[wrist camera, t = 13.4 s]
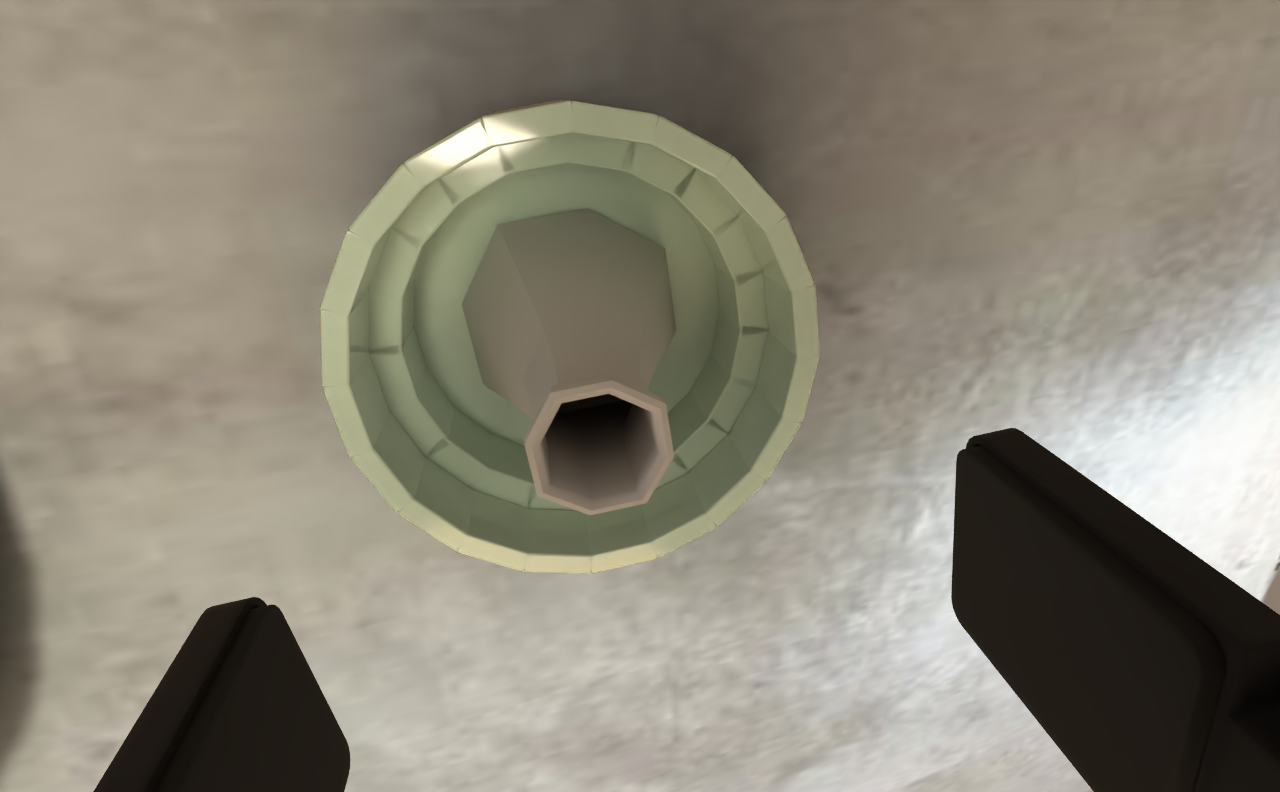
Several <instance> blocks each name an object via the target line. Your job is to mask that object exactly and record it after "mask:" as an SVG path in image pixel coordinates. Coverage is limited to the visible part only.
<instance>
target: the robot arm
mask: <svg viewBox="0 0 1280 792" xmlns="http://www.w3.org/2000/svg"><path fill="white" fill-rule="evenodd" d="M952 605H953V609H954V611H955V614H956V616H957V618H958V620H959V622H960V623H961V625H962V626H963V628H964V629H965V630H966V631H967V633H968V634H969V635H970V636H971V638H972V639H973V640H974V641H975V643H976V644H977V645H978V647H979V648H980V649H981V650H982V652H983V653H984V654H985V655H986V657H987V658H988V659H989V660H990V662H991V663H992V664H993V665H994V667H995V668H996V669H997V670H998V672H999V673H1000V674H1001V675H1002V677H1003V678H1004V679H1005V680H1006V682H1007V683H1008V684H1009V686H1010V687H1011V688H1012V689H1013V691H1014V692H1015V693H1016V694H1017V696H1018V697H1019V698H1020V699H1021V701H1022V702H1023V703H1024V704H1025V706H1026V707H1027V708H1028V709H1029V711H1030V712H1031V713H1032V714H1033V716H1034V717H1035V718H1036V719H1037V721H1038V722H1039V723H1040V725H1041V726H1042V727H1043V728H1044V730H1045V731H1046V732H1047V733H1048V735H1049V736H1050V737H1051V738H1052V740H1053V741H1054V742H1055V743H1056V745H1057V746H1058V747H1059V748H1060V750H1061V751H1062V752H1063V753H1064V755H1065V756H1066V757H1067V758H1068V760H1069V761H1070V762H1071V763H1072V765H1073V766H1074V767H1075V769H1076V770H1077V771H1078V772H1079V774H1080V775H1081V776H1082V777H1083V779H1084V780H1085V781H1086V782H1087V784H1088V785H1089V786H1090V787H1091V789H1092V790H1093V791H1094V792H1280V615H1279V614H1277V613H1276V612H1275V611H1273V610H1272V609H1270V608H1269V607H1268V606H1266V605H1265V604H1263V603H1262V602H1260V601H1259V600H1258V599H1256V598H1255V597H1253V596H1252V595H1251V594H1249V593H1248V592H1246V591H1245V590H1244V589H1242V588H1241V587H1239V586H1238V585H1237V584H1235V583H1234V582H1232V581H1231V580H1230V579H1228V578H1227V577H1225V576H1224V575H1223V574H1221V573H1220V572H1218V571H1217V570H1216V569H1214V568H1213V567H1211V566H1210V565H1209V564H1207V563H1206V562H1204V561H1203V560H1202V559H1200V558H1199V557H1197V556H1196V555H1194V554H1193V553H1192V552H1190V551H1189V550H1187V549H1186V548H1185V547H1183V546H1182V545H1180V544H1179V543H1178V542H1176V541H1175V540H1173V539H1172V538H1171V537H1169V536H1168V535H1166V534H1165V533H1164V532H1162V531H1161V530H1159V529H1158V528H1157V527H1155V526H1154V525H1152V524H1151V523H1150V522H1148V521H1147V520H1145V519H1144V518H1143V517H1141V516H1140V515H1138V514H1137V513H1136V512H1134V511H1133V510H1131V509H1130V508H1128V507H1127V506H1126V505H1124V504H1123V503H1121V502H1120V501H1119V500H1117V499H1116V498H1114V497H1113V496H1112V495H1110V494H1109V493H1107V492H1106V491H1105V490H1103V489H1102V488H1100V487H1099V486H1098V485H1096V484H1095V483H1093V482H1092V481H1091V480H1089V479H1088V478H1086V477H1085V476H1084V475H1082V474H1081V473H1079V472H1078V471H1077V470H1075V469H1074V468H1072V467H1071V466H1070V465H1068V464H1067V463H1065V462H1064V461H1062V460H1061V459H1060V458H1058V457H1057V456H1055V455H1054V454H1053V453H1051V452H1050V451H1048V450H1047V449H1046V448H1044V447H1043V446H1041V445H1040V444H1039V443H1037V442H1036V441H1034V440H1033V439H1032V438H1030V437H1029V436H1027V435H1026V434H1025V433H1023V432H1022V431H1020V430H1018V429H1016V428H1009V429H1004V430H1000V431H995V432H991V433H986V434H982V435H977V436H973V437H972V438H970V439H969V441H968V443H967V446H966V449H963V450H961V451H959V453H958V455H957V461H956V489H955V516H954V543H953V570H952ZM349 769H350V751H349V746H348V743H347V741H346V739H345V737H344V735H343V733H342V731H341V729H340V727H339V725H338V723H337V721H336V719H335V717H334V715H333V713H332V711H331V709H330V707H329V705H328V703H327V701H326V699H325V697H324V695H323V693H322V691H321V689H320V687H319V685H318V683H317V681H316V679H315V677H314V675H313V673H312V671H311V669H310V667H309V665H308V663H307V661H306V659H305V657H304V655H303V653H302V651H301V649H300V647H299V645H298V643H297V641H296V639H295V637H294V635H293V633H292V631H291V629H290V627H289V625H288V623H287V621H286V619H285V617H284V615H283V613H282V612H281V610H280V609H279V608H278V607H277V606H276V605H268V606H267V605H266V604H265V602H264V601H263V600H261V599H260V598H256V597H252V598H248V599H243V600H239V601H234V602H230V603H225V604H221V605H216V606H212V607H210V608H208V609H206V610H205V611H204V613H203V614H202V615H201V617H200V618H199V620H198V621H197V623H196V625H195V626H194V628H193V630H192V631H191V633H190V635H189V636H188V638H187V639H186V641H185V643H184V644H183V646H182V648H181V649H180V651H179V653H178V654H177V656H176V657H175V659H174V661H173V662H172V664H171V666H170V667H169V669H168V671H167V672H166V674H165V675H164V677H163V679H162V680H161V682H160V684H159V685H158V687H157V689H156V690H155V692H154V693H153V695H152V697H151V698H150V700H149V702H148V703H147V705H146V707H145V708H144V710H143V711H142V713H141V715H140V716H139V718H138V720H137V721H136V723H135V725H134V726H133V728H132V730H131V731H130V733H129V734H128V736H127V738H126V739H125V741H124V743H123V744H122V746H121V748H120V749H119V751H118V752H117V754H116V756H115V757H114V759H113V761H112V762H111V764H110V766H109V767H108V769H107V770H106V772H105V774H104V775H103V777H102V779H101V780H100V782H99V784H98V785H97V787H96V788H95V790H94V792H344V790H345V786H346V782H347V778H348V775H349Z"/></svg>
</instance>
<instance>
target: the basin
mask: <svg viewBox="0 0 1280 792" xmlns="http://www.w3.org/2000/svg"><path fill="white" fill-rule="evenodd" d="M586 208H588V209H589V210H591V211H593V212H595V213H597V214H599V215H601V216H603V217H605V218H607V219H609V220H611V221H613V222H615V223H617V224H619V225H620V226H622V227H624V228H626V229H628V230H630V231H632V232H634V233H636V234H638V235H640V236H642V237H644V238H646V239H648V240H650V241H652V242H653V243H655V244H657V245H659V246H661V247H663V248H665V253H666V260H667V267H668V274H669V281H670V289H671V296H672V303H673V310H674V317H675V325H676V332H675V334H674V336H673V338H672V340H671V342H670V343H669V345H668V347H667V349H666V351H665V352H664V354H663V356H662V358H661V360H660V361H659V364H658V366H657V368H656V370H655V373H654V375H653V377H652V379H651V382H650V384H649V386H648V388H647V391H649V392H652V393H654V394H656V395H658V396H661V397H662V398H664V399H665V402H666V406H667V413H668V420H669V426H670V433H671V439H672V446H673V452H674V457H673V459H672V461H671V463H670V464H669V466H668V468H667V469H666V471H665V473H664V475H663V476H662V478H661V480H660V481H659V483H658V485H657V486H656V488H655V490H654V492H653V493H652V495H651V497H650V498H649V500H648V502H647V503H645V504H641V505H636V506H631V507H627V508H622V509H617V510H613V511H608V512H604V513H599V514H594V515H588V514H585V513H582V512H580V511H577V510H574V509H571V508H569V507H566V506H563V505H561V504H558V503H555V502H552V501H550V500H547V499H544V498H541V497H539V496H537V493H536V489H535V485H534V481H533V477H532V473H531V469H530V465H529V461H528V457H527V454H526V450H525V446H524V438H525V436H526V434H527V432H528V430H529V428H530V426H531V424H532V422H533V420H532V419H531V418H529V417H528V416H527V415H526V414H524V413H523V412H522V411H521V410H519V409H518V408H517V407H516V406H514V405H513V404H512V403H511V402H509V401H508V400H506V399H505V398H503V397H501V396H500V395H498V394H496V393H495V392H493V391H492V390H490V389H489V388H487V387H486V386H485V385H484V384H483V382H482V378H481V375H480V371H479V367H478V363H477V360H476V356H475V352H474V349H473V345H472V341H471V337H470V334H469V330H468V326H467V323H466V319H465V315H464V311H463V308H462V303H463V300H464V298H465V296H466V294H467V291H468V289H469V287H470V285H471V282H472V280H473V278H474V276H475V274H476V271H477V269H478V267H479V265H480V262H481V260H482V258H483V256H484V253H485V251H486V249H487V247H488V245H489V242H490V240H491V238H492V236H493V233H494V231H495V229H496V227H497V225H498V224H503V223H509V222H514V221H520V220H525V219H531V218H536V217H542V216H547V215H553V214H558V213H564V212H569V211H575V210H580V209H586ZM785 215H786V214H785V212H784V211H783V210H782V209H781V208H780V207H779V205H778V204H777V203H776V202H775V201H774V200H773V199H772V198H771V196H770V195H769V194H768V193H767V192H766V191H765V190H764V189H763V188H762V186H761V185H760V184H759V183H758V182H757V181H756V180H755V179H754V178H753V176H752V175H751V174H750V173H749V172H748V171H747V170H746V169H745V167H744V166H743V165H742V164H741V163H740V162H739V161H738V160H737V159H736V157H734V156H732V155H731V154H730V153H729V152H727V151H725V150H723V149H721V148H719V147H717V146H716V145H714V144H712V143H710V142H708V141H706V140H705V139H703V138H701V137H699V136H697V135H695V134H694V133H692V132H690V131H688V130H686V129H684V128H683V127H681V126H679V125H677V124H675V123H673V122H672V121H670V120H668V119H666V118H664V117H662V116H658V115H657V114H653V113H647V112H640V111H634V110H628V109H622V108H615V107H609V106H603V105H597V104H590V103H584V102H578V101H571V100H554V101H548V102H543V103H538V104H532V105H527V106H521V107H516V108H510V109H505V110H499V111H494V112H492V113H488V114H486V115H484V116H482V117H480V118H478V119H476V120H475V121H473V122H471V123H469V124H468V125H466V126H464V127H463V128H461V129H459V130H457V131H456V132H454V133H452V134H450V135H449V136H447V137H445V138H444V139H442V140H440V141H438V142H437V143H435V144H433V145H432V146H430V147H428V148H426V149H425V150H423V151H421V152H419V153H418V154H416V155H414V156H413V157H411V158H409V159H407V160H406V161H405V162H404V163H403V164H401V165H400V166H399V167H398V169H397V170H396V171H395V172H394V173H393V175H392V176H391V177H390V178H389V179H388V181H387V182H386V183H385V184H384V185H383V187H382V188H381V189H380V190H379V191H378V193H377V194H376V195H375V196H374V197H373V199H372V200H371V201H370V202H369V204H368V205H367V206H366V207H365V208H364V210H363V211H362V212H361V213H360V214H359V216H358V217H357V218H356V219H355V220H354V222H353V223H352V224H351V225H350V226H349V229H348V230H347V231H346V233H345V236H344V239H343V242H342V245H341V248H340V251H339V253H338V256H337V259H336V262H335V265H334V268H333V271H332V274H331V276H330V279H329V282H328V285H327V288H326V291H325V294H324V297H323V300H322V302H321V305H320V308H321V310H320V329H321V370H322V385H323V391H324V394H325V396H326V399H327V401H328V404H329V406H330V409H331V412H332V414H333V417H334V419H335V422H336V424H337V427H338V430H339V432H340V435H341V437H342V440H343V442H344V445H345V448H346V450H347V453H348V455H349V456H351V459H352V461H353V462H354V463H355V464H356V465H357V467H358V468H359V469H360V470H361V471H362V473H363V474H364V475H365V476H366V477H367V479H368V480H369V481H370V482H371V483H372V485H373V486H374V487H375V488H376V489H377V491H378V492H379V493H380V494H381V495H382V496H383V498H384V499H385V500H386V501H387V502H388V504H389V505H390V506H391V507H392V508H393V510H394V511H396V512H397V514H398V515H400V516H401V517H403V518H404V519H406V520H407V521H409V522H411V523H412V524H414V525H415V526H417V527H418V528H420V529H421V530H423V531H425V532H426V533H428V534H429V535H431V536H432V537H434V538H435V539H437V540H439V541H440V542H442V543H443V544H445V545H446V546H448V547H449V548H451V549H452V550H454V551H457V552H458V553H461V554H464V555H468V556H471V557H474V558H478V559H481V560H484V561H488V562H491V563H494V564H498V565H501V566H504V567H508V568H511V569H514V570H518V571H521V572H522V571H524V572H542V573H578V574H591V573H592V574H594V573H599V572H603V571H607V570H611V569H616V568H620V567H624V566H629V565H633V564H637V563H641V562H646V561H650V560H654V559H657V558H658V557H661V556H663V555H665V554H667V553H669V552H671V551H673V550H675V549H677V548H679V547H680V546H682V545H684V544H686V543H688V542H690V541H692V540H694V539H696V538H697V537H699V536H701V535H703V534H705V533H707V532H709V531H711V530H713V529H715V528H716V527H717V525H720V524H721V523H722V522H723V521H724V520H725V519H726V518H728V517H729V516H730V515H731V514H732V513H733V512H734V511H735V510H736V509H737V508H738V507H739V506H740V505H742V504H743V503H744V502H745V501H746V500H747V499H748V498H749V497H750V496H751V495H752V494H753V493H754V492H756V491H757V490H758V489H759V488H760V487H761V486H762V485H763V484H764V483H765V482H766V480H767V479H768V478H769V477H770V475H771V473H772V472H773V470H774V469H775V467H776V465H777V464H778V462H779V460H780V459H781V457H782V455H783V454H784V452H785V450H786V449H787V447H788V445H789V444H790V442H791V441H792V439H793V437H794V436H795V434H796V432H797V431H798V429H799V427H800V426H801V422H803V420H804V416H805V412H806V408H807V404H808V400H809V396H810V392H811V388H812V384H813V381H814V377H815V373H816V369H817V365H818V361H819V355H820V348H819V332H818V316H817V301H816V286H815V284H814V280H813V278H812V275H811V273H810V270H809V268H808V266H807V263H806V261H805V258H804V256H803V254H802V251H801V249H800V246H799V244H798V241H797V239H796V237H795V234H794V232H793V229H792V227H791V225H790V222H789V220H788V217H787V216H785Z"/></svg>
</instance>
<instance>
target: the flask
mask: <svg viewBox="0 0 1280 792" xmlns="http://www.w3.org/2000/svg"><path fill="white" fill-rule="evenodd" d="M462 308H463V311H464V315H465V319H466V323H467V326H468V330H469V334H470V337H471V341H472V345H473V349H474V352H475V356H476V360H477V363H478V367H479V371H480V375H481V378H482V382H483V384H484V385H485V386H486V387H487V388H489V389H490V390H492V391H493V392H495V393H496V394H498V395H500V396H501V397H503V398H505V399H506V400H508V401H509V402H511V403H512V404H513V405H514V406H516V407H517V408H518V409H519V410H521V411H522V412H523V413H524V414H526V415H527V416H528V417H529V418H531V419H532V420H533V422H532V424H531V426H530V428H529V430H528V432H527V434H526V436H525V438H524V446H525V450H526V454H527V457H528V461H529V465H530V469H531V473H532V477H533V481H534V485H535V489H536V493H537V496H539V497H541V498H544V499H547V500H550V501H552V502H555V503H558V504H561V505H563V506H566V507H569V508H571V509H574V510H577V511H580V512H582V513H585V514H588V515H594V514H599V513H604V512H608V511H613V510H617V509H622V508H627V507H631V506H636V505H641V504H645V503H647V502H648V500H649V498H650V497H651V495H652V493H653V492H654V490H655V488H656V486H657V485H658V483H659V481H660V480H661V478H662V476H663V475H664V473H665V471H666V469H667V468H668V466H669V464H670V463H671V461H672V459H673V457H674V452H673V446H672V439H671V433H670V426H669V420H668V413H667V406H666V402H665V399H664V398H662V397H661V396H658V395H656V394H654V393H652V392H649V391H647V388H648V386H649V384H650V382H651V379H652V377H653V375H654V373H655V370H656V368H657V366H658V364H659V361H660V360H661V358H662V356H663V354H664V352H665V351H666V349H667V347H668V345H669V343H670V342H671V340H672V338H673V336H674V334H675V332H676V325H675V317H674V310H673V303H672V296H671V289H670V281H669V274H668V267H667V260H666V253H665V248H663V247H661V246H659V245H657V244H655V243H653V242H652V241H650V240H648V239H646V238H644V237H642V236H640V235H638V234H636V233H634V232H632V231H630V230H628V229H626V228H624V227H622V226H620V225H619V224H617V223H615V222H613V221H611V220H609V219H607V218H605V217H603V216H601V215H599V214H597V213H595V212H593V211H591V210H589V209H588V208H586V209H580V210H575V211H569V212H564V213H558V214H553V215H547V216H542V217H536V218H531V219H525V220H520V221H514V222H509V223H503V224H498V225H497V227H496V229H495V231H494V233H493V236H492V238H491V240H490V242H489V245H488V247H487V249H486V251H485V253H484V256H483V258H482V260H481V262H480V265H479V267H478V269H477V271H476V274H475V276H474V278H473V280H472V282H471V285H470V287H469V289H468V291H467V294H466V296H465V298H464V300H463V303H462Z"/></svg>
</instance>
